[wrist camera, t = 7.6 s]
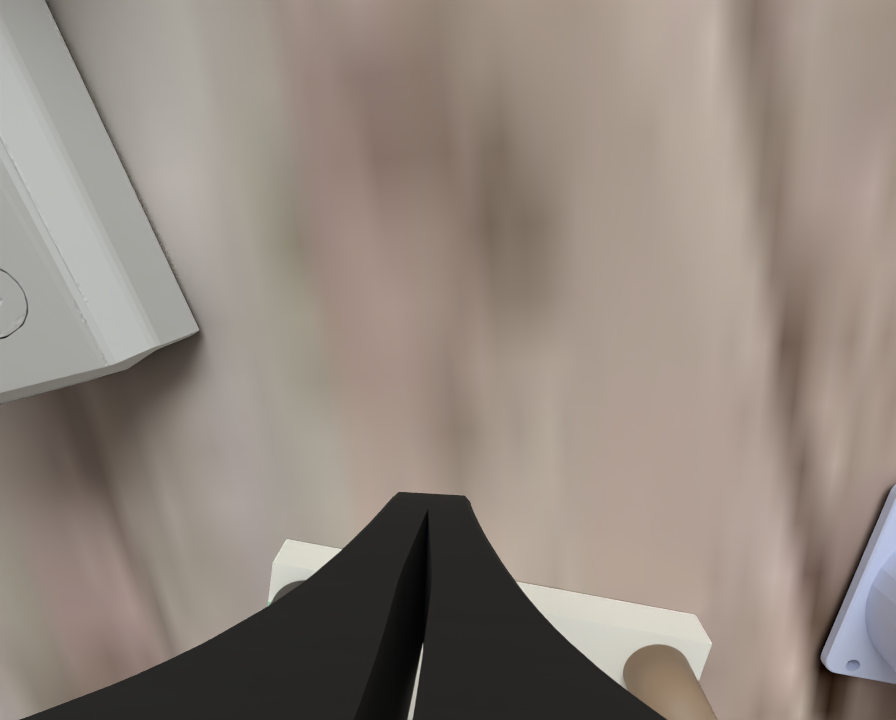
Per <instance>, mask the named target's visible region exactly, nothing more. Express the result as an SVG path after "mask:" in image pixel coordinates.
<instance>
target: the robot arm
mask: <svg viewBox="0 0 896 720" xmlns="http://www.w3.org/2000/svg"><path fill="white" fill-rule="evenodd" d="M422 645H423V655H422V662H421V669H420V675H419V682H418V688H417V695H416V701H415V708H414V714H413V720H667V719H666V718H664V717H663V716H661V715H660V714H659V713H657V712H656V711H655V710H653V709H652V708H651V707H649V706H648V705H646V704H645V703H644V702H642V701H641V700H640V699H638V698H637V697H636V696H634V695H633V694H631V693H630V692H629V691H627V690H626V689H625V688H623V687H622V686H621V685H620V684H618V683H617V682H616V681H615V680H613V679H612V678H611V677H610V676H608V675H607V674H606V673H605V672H603V671H602V670H601V669H600V668H598V667H597V666H596V665H595V664H594V663H593V662H592V661H590V660H589V659H588V658H587V657H586V656H585V655H584V654H583V653H581V652H580V651H579V650H578V649H577V648H576V647H575V646H574V645H572V644H571V643H570V642H569V641H568V640H567V639H566V638H565V637H564V636H563V635H562V634H561V633H560V632H559V631H558V630H557V629H556V628H555V627H554V626H553V625H552V624H551V623H550V622H549V621H548V620H547V619H546V618H545V617H544V615H543V614H542V613H541V612H540V611H539V610H538V609H537V608H536V606H535V605H534V604H533V603H532V602H531V601H530V599H529V598H528V597H527V596H526V594H525V593H524V592H523V591H522V589H521V588H520V587H519V585H518V584H517V583H516V581H515V580H514V579H513V577H512V576H511V575H510V573H509V572H508V570H507V569H506V567H505V566H504V565H503V563H502V562H501V560H500V559H499V557H498V555H497V554H496V552H495V551H494V549H493V547H492V546H491V544H490V543H489V541H488V539H487V537H486V536H485V534H484V532H483V530H482V528H481V526H480V524H479V523H478V521H477V518H476V516H475V514H474V512H473V509H472V507H471V503H470V501H469V500H468V499H467V498H466V497H465V496H461V495H443V494H426V493H408V492H398V493H397V494H396V495H395V496H394V497H393V498H392V499H391V500H390V501H389V502H388V503H387V504H386V505H385V507H384V508H383V509H382V510H381V511H380V512H379V513H378V514H377V515H376V516H375V517H374V519H373V520H372V521H371V522H370V523H369V524H368V525H367V526H366V527H365V528H364V529H363V530H362V531H361V532H360V533H359V534H358V535H357V536H356V537H355V538H354V539H353V540H352V541H351V542H350V543H349V544H348V545H346V546H345V547H344V548H343V549H342V550H341V551H340V552H339V553H338V554H336V555H335V556H334V557H333V558H332V559H331V560H329V561H328V562H327V563H326V564H325V565H324V566H322V567H321V568H320V569H319V570H318V571H317V572H315V573H314V574H313V575H312V576H311V577H309V578H308V579H307V580H305V581H304V582H303V583H301V584H300V585H299V586H297V587H296V588H294V589H293V590H291V591H290V592H289V593H287V594H286V595H284V596H283V597H281V598H280V599H278V600H277V601H275V602H274V603H272V604H271V605H269V606H268V607H266V608H264V609H263V610H261V611H259V612H258V613H256V614H254V615H252V616H251V617H249V618H247V619H245V620H244V621H242V622H240V623H238V624H237V625H235V626H233V627H231V628H230V629H228V630H226V631H224V632H223V633H221V634H219V635H217V636H216V637H214V638H212V639H210V640H208V641H207V642H205V643H203V644H201V645H199V646H197V647H195V648H193V649H191V650H189V651H186V652H184V653H182V654H180V655H178V656H176V657H174V658H172V659H170V660H168V661H166V662H163V663H161V664H159V665H157V666H155V667H152V668H150V669H148V670H146V671H143V672H141V673H139V674H137V675H135V676H132V677H130V678H127V679H125V680H123V681H120V682H118V683H116V684H113V685H111V686H108V687H106V688H103V689H100V690H98V691H95V692H92V693H90V694H87V695H84V696H82V697H79V698H77V699H74V700H71V701H69V702H66V703H63V704H61V705H58V706H55V707H53V708H50V709H48V710H45V711H42V712H40V713H37V714H34V715H32V716H29V717H26V718H23V719H20V720H408V715H409V710H410V705H411V700H412V695H413V690H414V685H415V680H416V675H417V670H418V665H419V660H420V655H421V650H422ZM850 660H851V661H850ZM821 661H822V663H823V664H824V665H825V666H826V668H827V669H828V670H829V671H831V672H834V673H838V674H843V675H849V676H854V677H860V678H865V679H871V680H876V681H881V682H887V683H892V684H896V485H894V486H893V488H892V489H891V491H890V493H889V495H888V498H887V500H886V502H885V505H884V507H883V509H882V512H881V514H880V517H879V519H878V521H877V524H876V526H875V528H874V531H873V533H872V535H871V538H870V540H869V542H868V545H867V547H866V550H865V552H864V554H863V557H862V559H861V561H860V564H859V566H858V568H857V571H856V573H855V575H854V578H853V580H852V583H851V585H850V587H849V590H848V592H847V594H846V597H845V599H844V601H843V604H842V606H841V608H840V611H839V613H838V615H837V618H836V620H835V623H834V625H833V627H832V630H831V632H830V634H829V637H828V639H827V641H826V644H825V646H824V648H823V651H822V653H821ZM848 661H850V662H848ZM847 662H848V663H847Z"/></svg>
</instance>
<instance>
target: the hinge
mask: <svg viewBox="0 0 896 720" xmlns="http://www.w3.org/2000/svg"><path fill="white" fill-rule="evenodd" d="M198 331H199V328H198V326H197V324H196V322H195V320H194V317H193V315H192V313H191V311H190V309H189V307H188V305H187V302H186V300H185V298H184V296H183V294H182V292H181V290H180V288H179V285H178V283H177V281H176V279H175V277H174V275H173V273H172V270H171V268H170V266H169V264H168V262H167V260H166V258H165V256H164V253H163V251H162V249H161V247H160V245H159V243H158V241H157V238H156V236H155V234H154V232H153V230H152V228H151V226H150V223H149V221H148V219H147V217H146V215H145V213H144V211H143V209H142V206H141V204H140V202H139V200H138V198H137V196H136V194H135V191H134V189H133V187H132V185H131V183H130V181H129V179H128V177H127V174H126V172H125V170H124V168H123V166H122V164H121V162H120V159H119V157H118V155H117V153H116V151H115V149H114V147H113V144H112V142H111V140H110V138H109V136H108V134H107V132H106V130H105V127H104V125H103V123H102V121H101V119H100V117H99V115H98V112H97V110H96V108H95V106H94V104H93V102H92V100H91V98H90V95H89V93H88V91H87V89H86V87H85V85H84V83H83V80H82V78H81V76H80V74H79V72H78V70H77V68H76V65H75V63H74V61H73V59H72V57H71V55H70V53H69V51H68V48H67V46H66V44H65V42H64V40H63V38H62V36H61V33H60V31H59V29H58V27H57V25H56V23H55V21H54V19H53V16H52V14H51V12H50V10H49V8H48V6H47V4H46V1H45V0H0V404H3V403H7V402H11V401H15V400H19V399H22V398H26V397H30V396H34V395H37V394H41V393H45V392H49V391H53V390H56V389H60V388H64V387H68V386H72V385H75V384H79V383H83V382H87V381H90V380H94V379H98V378H102V377H103V376H105V375H109V374H112V373H116V372H120V371H124V370H127V369H128V368H130V367H131V366H133V365H134V364H136V363H137V362H139V361H140V360H142V359H143V358H145V357H146V356H148V355H149V354H151V353H152V352H154V351H155V350H158V349H160V348H162V347H165V346H167V345H170V344H172V343H175V342H177V341H180V340H182V339H185V338H187V337H190V336H192V335H193V334H195V333H196V332H198Z"/></svg>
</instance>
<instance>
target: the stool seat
mask: <svg viewBox="0 0 896 720" xmlns="http://www.w3.org/2000/svg"><path fill="white" fill-rule="evenodd" d="M341 550H342V549H338V548H332V547H327V546H322V545H316V544H311V543H305V542H300V541H295V540H289V539H286V541H285V543H284V544H283V546H282V548H281V549H280V551H279V553H278V555H277V556H276V558H275V560H274V561H273V566H272V574H271V582H270V590H269V599H268V602H267V607H268V606H269V605H270V604H271V602H272V600H273V598H274V596H275V595H276V593H277V592H278V591H279V590H280V589H281V588H283V587H284V586H285V585H287V584H289V583H292V582H295V581H300V580H307V579H308V578H309V577H311V576H312V575H313V574H314V573H315V572H317V571H318V570H319V569H320V568H321V567H322V566H324V565H325V564H326V563H327V562H328V561H329V560H331V559H332V558H333V557H334V556H335V555H336V554H338V553H339V552H340V551H341ZM516 583H517V584H518V585H519V587H520V588H521V589H522V591H523V592H524V593H525V594H526V596H527V597H528V598H529V599H530V601H531V602H532V603H533V604H534V605H535V606H536V608H537V609H538V610H539V611H540V612H541V613H542V614H543V615H544V617H545V618H546V619H547V620H548V621H549V622H550V623H551V624H552V625H553V626H554V627H555V628H556V629H557V630H558V631H559V632H560V633H561V634H562V635H563V636H564V637H565V638H566V639H567V640H568V641H569V642H570V643H571V644H572V645H574V646H575V647H576V648H577V649H578V650H579V651H580V652H581V653H583V654H584V655H585V656H586V657H587V658H588V659H589V660H590V661H592V662H593V663H594V664H595V665H596V666H597V667H598V668H600V669H601V670H602V671H603V672H605V673H606V674H607V675H608V676H610V677H611V678H612V679H613V680H615V681H616V682H617V683H618V684H620V685H621V686H622V687H623V688H625V689H626V690H627V691H629V692H630V693H631V694H633V695H634V696H636V697H637V698H638V699H640V700H641V701H642V702H644V703H645V704H646V705H648V706H649V707H651V708H652V709H653V710H655V711H656V712H657V713H659V714H660V715H661V716H663V717H664V718H666V719H667V720H717V718H716V716H715V714H714V712H713V710H712V708H711V706H710V704H709V702H708V700H707V698H706V696H705V694H704V692H703V690H702V688H701V686H700V684H699V682H698V681H699V679H700V676H701V673H702V670H703V668H704V665H705V662H706V659H707V657H708V654H709V651H710V648H711V646H712V643H711V641H710V639H709V637H708V636H707V634H706V632H705V631H704V629H703V627H702V625H701V624H700V622H699V620H698V619H697V617H696V615H694V614H689V613H683V612H678V611H673V610H667V609H662V608H656V607H651V606H646V605H640V604H635V603H629V602H624V601H619V600H613V599H608V598H602V597H597V596H592V595H586V594H581V593H575V592H570V591H565V590H559V589H554V588H548V587H543V586H538V585H532V584H527V583H521V582H516ZM422 655H423V645H422V650H421V655H420V660H419V665H418V670H417V675H416V680H415V685H414V690H413V695H412V700H411V705H410V710H409V715H408V720H413V714H414V708H415V701H416V695H417V688H418V682H419V675H420V669H421V662H422Z"/></svg>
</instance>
